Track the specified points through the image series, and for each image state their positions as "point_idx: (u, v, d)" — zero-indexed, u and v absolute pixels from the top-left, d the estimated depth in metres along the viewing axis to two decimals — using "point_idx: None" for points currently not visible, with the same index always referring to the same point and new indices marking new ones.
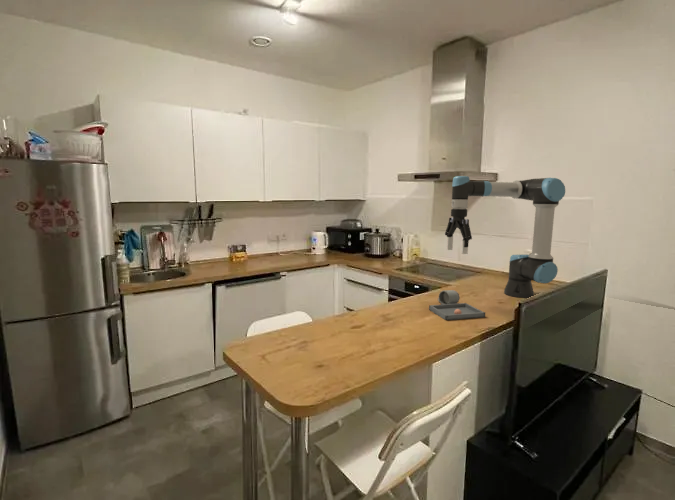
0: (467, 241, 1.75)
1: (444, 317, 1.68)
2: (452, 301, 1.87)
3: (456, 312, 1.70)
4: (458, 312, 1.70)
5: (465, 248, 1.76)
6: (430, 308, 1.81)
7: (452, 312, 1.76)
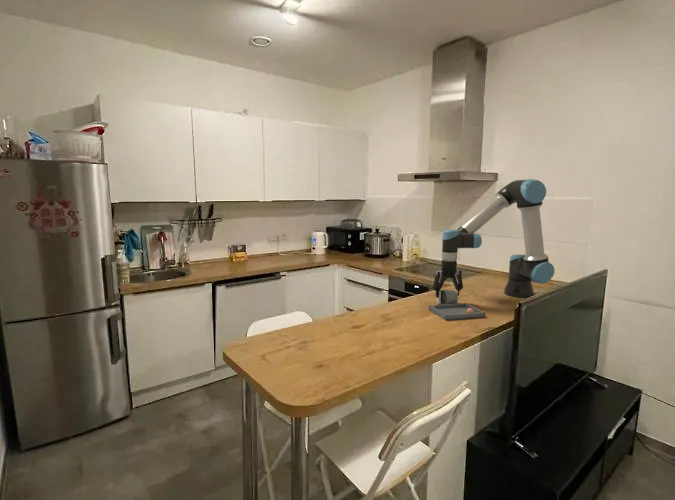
0: (436, 292, 1.90)
1: (444, 317, 1.68)
2: (450, 300, 1.88)
3: None
4: None
5: (438, 298, 1.91)
6: (430, 308, 1.81)
7: (452, 312, 1.76)
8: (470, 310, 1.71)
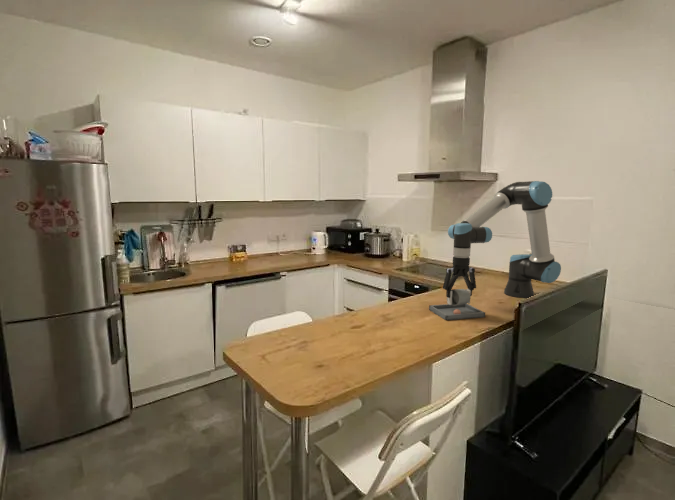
0: (447, 291, 1.74)
1: (444, 317, 1.68)
2: (462, 301, 1.72)
3: (455, 313, 1.70)
4: (457, 312, 1.69)
5: (449, 298, 1.75)
6: (430, 308, 1.81)
7: (452, 312, 1.76)
8: (460, 313, 1.70)
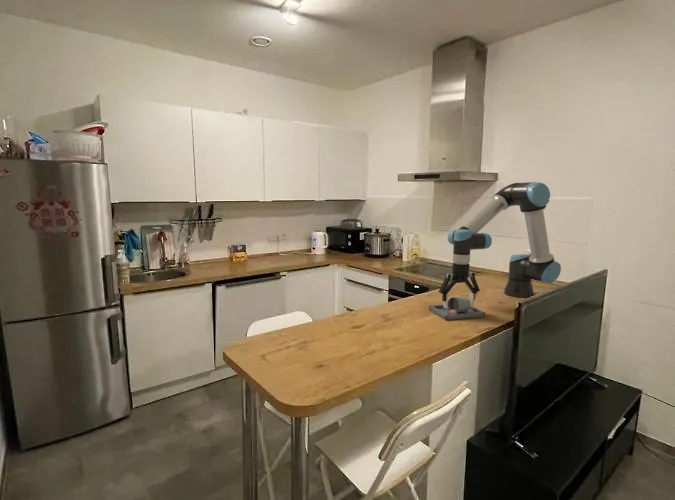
0: (443, 295, 1.74)
1: (444, 317, 1.68)
2: (462, 309, 1.73)
3: None
4: None
5: (445, 302, 1.74)
6: (430, 308, 1.81)
7: None
8: (455, 311, 1.69)
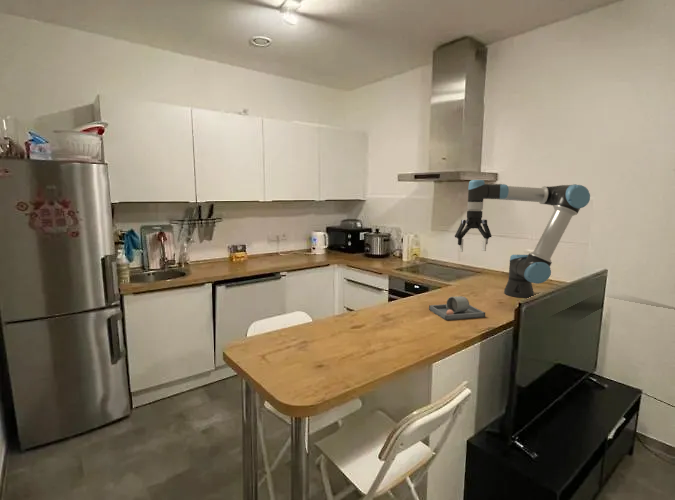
0: (458, 239, 1.92)
1: (444, 317, 1.68)
2: (461, 308, 1.73)
3: None
4: None
5: (460, 246, 1.93)
6: (430, 308, 1.81)
7: None
8: (449, 312, 1.69)
